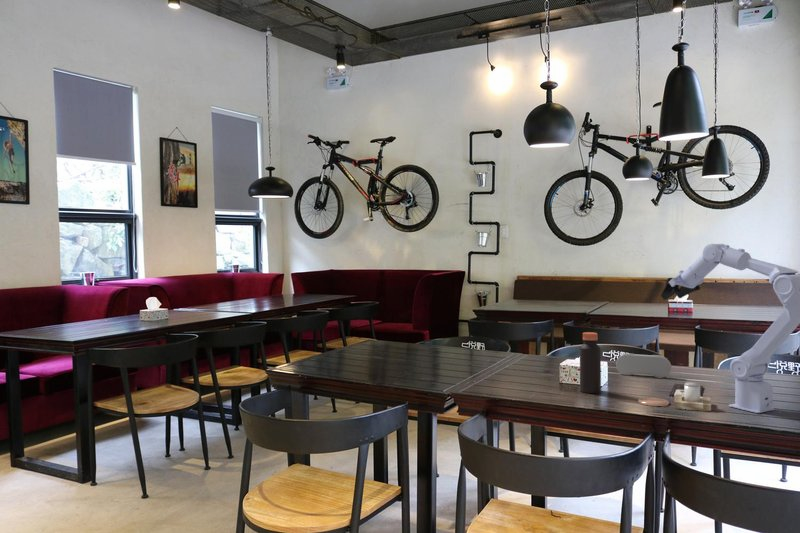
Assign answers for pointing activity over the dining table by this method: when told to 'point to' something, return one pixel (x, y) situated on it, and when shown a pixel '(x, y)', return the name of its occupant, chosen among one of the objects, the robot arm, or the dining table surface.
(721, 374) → the dining table surface
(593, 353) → the bottle
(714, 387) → the dining table surface
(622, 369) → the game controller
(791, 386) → the dining table surface
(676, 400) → the birch holder
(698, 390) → the light gray cylinder
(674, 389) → the chocolate bar
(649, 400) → the terracotta saucer
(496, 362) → the dining table surface
